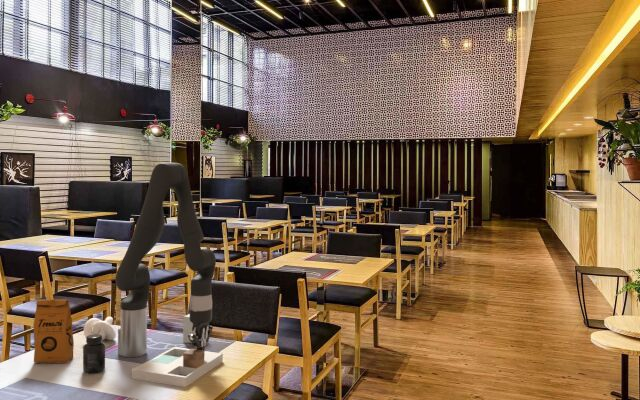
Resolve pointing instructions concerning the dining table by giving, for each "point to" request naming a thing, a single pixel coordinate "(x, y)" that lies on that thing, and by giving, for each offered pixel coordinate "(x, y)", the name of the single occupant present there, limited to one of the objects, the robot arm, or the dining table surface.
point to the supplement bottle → (94, 354)
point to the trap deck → (175, 368)
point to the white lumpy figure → (100, 328)
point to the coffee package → (53, 332)
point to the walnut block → (193, 358)
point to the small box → (187, 328)
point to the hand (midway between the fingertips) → (200, 356)
